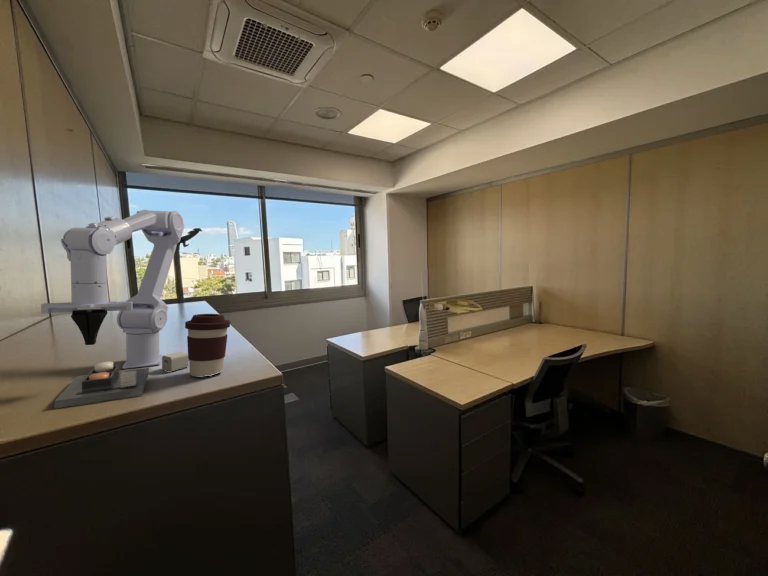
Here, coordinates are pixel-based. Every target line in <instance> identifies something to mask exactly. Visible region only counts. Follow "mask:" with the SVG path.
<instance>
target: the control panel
mask: <svg viewBox="0 0 768 576" xmlns="http://www.w3.org/2000/svg"><path fill="white" fill-rule="evenodd" d="M128 371H136V379H137V382H136V385H134V386H127V387H121V379H120V375H121V373H122V372H128ZM107 372H108V373H109V378H103V379H95V380H89V376H90V375H92V374H95V373H101V372H95V367H93V368H92V369H91V370H90V371H89V372H88V374H83V375H77V376H76V377H75V378H74V380H72V381H71V383H70V384H69V385H68V386H67V387H66V388H65V389H64V390H63V391H62V392H61V394H59V396H58V397H57V398H55V400H54V410H56V409H63V408H69V407H75V406H81V405H88V404H94V403H95V404H96V403H102V402H109V401H115V400H122V399H127V398H128V399H129V398H133V397H141V396H143V395H144V394H143V393H144V391H145V387H146V385H147V381H148V379H149V375H150V368H149V367H148V368H147V367H146V368H145V367H144V368H136V369H128V370H120V365H113V370H111V371H107Z"/></svg>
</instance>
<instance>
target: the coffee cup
mask: <svg viewBox="0 0 768 576" xmlns="http://www.w3.org/2000/svg"><path fill="white" fill-rule="evenodd" d="M230 326H231V320H229V319H226V318H225V316H224V315H223V314H220V313H200V314H199V313H197V314H193V315H192V317H191V319H190V320H186V321H185V322H184V328H185V329H186V330H187V337H186V338H187V339H186V340H187V354H188V359H189V361H188V365H189V375H190V376H191V375H192V376H191V377H194V376H205V375H211V374H215V373H217V372H220V371H221V370H222V369H223V370H224V360H225V357H226V351H227V343H228V342H227V341H228V333H227V332H228V328H230Z"/></svg>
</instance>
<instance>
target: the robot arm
mask: <svg viewBox="0 0 768 576" xmlns="http://www.w3.org/2000/svg"><path fill="white" fill-rule="evenodd" d="M184 229H185V223H184V218H183V217H182V215H181V214H180V213H179V211H176V210H173V211H172V210H171V211H168V210H167V211H165V210H149V209H142V210H136V213H134V214H133V215H130V216H127V217H126V218H123V219H121V218H118V217H115V216H106V217H104V220H102V221H100V222H90V223H88V226H86V227H71V228H70V229H68V230H67V231H66V232H64V234H63V237H62V238H61V239H60V241H61V242H60V243H61V246H62V248H63V249H64V250H65V252H66V258H67V259H68V261H69V262H70V287H71V288H70V290H71V291H70V292H71V295H70V297H71V301H70V302H69V301H68V302H50V303H49V302H48V303H47V302H45V303H42V304H40V314H45V315H46V314H54V313H56V314H58V313H59V314H60V313H72V314H71V315H70V317H71V319H72V321H73V322H74V323H75V325H76V326H77V328H78V330H79V331H80V333H81V335H82V339H83V341H84V344H85V346H93V345H95V344H96V343H97V339H98V333H99V331H100V328H101V326H102V323H103V322H104V320H105V318H106V317H107V315H108V314H109V313H108V312H115V311H117V312H118V313H117V316H116V322H117V325H118V327H119V328H120V329H122V333H124V334H125V349H126V350H125V352H126V357H125V358H126V360H125V362H124V364H123V365H122V367H121V369H123V370H124V369H133V368H141V367H142V368H143V367H144V368H145V367H150V366H160V365H161V364H162V356H163V354H160V331H163V329H164V327H165V326H166V324H167V322H168V310H169V306H168V304H167V303H166V302H165V301H164V300H162V299H161V297H162V294H163V291H164V289H165V288H164V287H165V284H166V282H167V280H168V279H167V278H168V275H169V271H170V269H171V266H172V262H173V260H174V256H175V252H176V250H177V245H178V244H179V243H180V242H181V238H182V236H183V233H184ZM139 231H142V233H143V235H144V236H145V238H146V241H148V242H149V243H152V244H153V247H152V251H151V254H150V257H149V259H148V262H147V266H146V269H145V271H144V273H143V277H142V280H141V282H140V286H139V288H138V292H137V294H136V295H134V296H132V297H131V298H128V299H127V300H126V301H108V276H107V275H108V274H107V273H108V271H107V261H108V260H107V255H110V254H111V253H112V252H113V250H114V248H115V246H116V245H117V246H118V245H119V244H121V243H124V242H126V241H128V240H130V239H131V238H132V235H133V233H134V232H135V233H136V232H139Z"/></svg>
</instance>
